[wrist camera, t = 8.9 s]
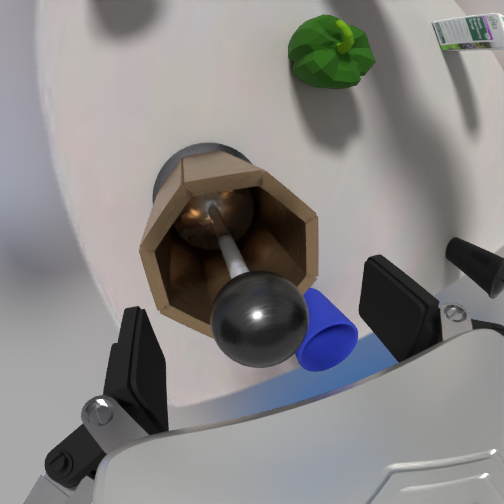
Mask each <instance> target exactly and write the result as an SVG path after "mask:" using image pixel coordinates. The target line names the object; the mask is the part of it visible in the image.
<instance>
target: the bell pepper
mask: <svg viewBox="0 0 504 504" xmlns="http://www.w3.org/2000/svg"><path fill="white" fill-rule="evenodd" d="M288 58H289V59H290V60H292V61H293V62H294V64H293V69H292V70H293V72H294V73H295V75H296V77H298V78H299V79H300V80H302V81H303V82H305V83H306V84H308V85H310V86H313V87H318V88H329V89H343V88H348V87H352V86H355V85H357V84H358V83H359V81H360V80H361V79H360V76H364V75H365V74H366V73H367V71H368V70H369V69H370V68H371V66H372V65H373V64H374V63H375V62H376V61H375V59H374V56H373V54H372V51H371V49H370V46H369V43H368V39H367V36H366V33H365V32H363V31H361V30H360V29H358V28H356V27H355V26H352V25H347V24H346V23H345V22H344V21H343V20H341V19H338V18H336V17H334V16H331V15H321V16H318V17H316V18H313V19H310V20H308V21H306V22H305V23H303V24H302V25H301V26H300V27H299V28H298V29H297V30H296V32H295V33H294V34H293V36H292V38H291V40H290V42H289V45H288Z"/></svg>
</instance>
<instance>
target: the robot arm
mask: <svg viewBox="0 0 504 504" xmlns="http://www.w3.org/2000/svg"><path fill="white" fill-rule="evenodd" d="M438 305H439V301H438V300H437V299H436V298H434V297H433V296H432V295H431V294H430V293H429V292H427V291H426V290H425V289H424V288H423V287H421V286H420V285H419V284H418V283H417V282H415V281H414V280H413V279H412V278H410V277H409V276H408V275H407V274H405V273H404V272H403V271H402V270H400V269H399V268H398V267H396V266H395V265H394V264H393V263H391V262H390V261H389V260H387V259H386V258H385V257H383V256H382V255H375V256H371V257H369V258H368V259H367V261H366V262H365V264H364V272H363V281H362V289H361V296H360V303H359V315H360V316H361V318H362V319H363V320H364V321H365V323H366V324H367V325H368V326H369V327H370V328H371V330H372V331H373V332H374V333H375V334H376V335H377V337H378V338H379V339H380V340H381V342H382V343H383V344H384V345H385V346H386V348H387V349H388V350H389V351H390V352H391V354H392V355H393V356H394V357H395V358H396V360H397V361H398V362H399V363H398V364H396V365H393V366H391V367H389V368H387V369H385V370H383V371H380V372H378V373H376V374H373V375H371V376H368V377H366V378H364V379H361V380H359V381H356V382H354V383H351V384H349V385H346V386H343V387H341V388H338V389H336V390H333V391H330V392H327V393H324V394H321V395H318V396H316V397H313V398H309V399H307V400H303V401H300V402H297V403H293V404H290V405H287V406H283V407H280V408H276V409H273V410H269V411H265V412H261V413H257V414H253V415H249V416H244V417H240V418H236V419H231V420H226V421H221V422H217V423H211V424H206V425H201V426H195V427H189V428H183V429H179V430H172V431H169V427H168V411H167V390H166V362H165V358H164V355H163V353H162V350H161V348H160V346H159V343H158V341H157V338H156V336H155V334H154V331H153V329H152V326H151V323H150V321H149V318H148V316H147V313H146V311H145V309H140V307H139V306H136V307H131V308H126V309H125V310H124V314H123V319H122V323H121V328H120V333H119V338H118V343H114V344H113V345H112V347H111V351H110V357H109V362H108V368H107V373H106V379H105V385H104V391H103V395H100V396H96V397H93V398H92V399H90V400H89V401H88V402H86V403H85V405H84V407H83V408H82V412H81V419H82V422H83V424H82V425H81V426H80V427H78V428H77V429H76V430H75V431H74V432H73V433H71V434H70V435H69V436H68V437H67V438H66V439H64V440H63V441H62V442H61V443H60V444H59V445H57V446H56V447H55V448H54V449H52V450H51V451H50V452H49V453H48V455H47V457H46V459H45V470H46V474H45V476H42V475H40V477H39V479H38V480H37V482H36V484H35V485H34V487H33V488H32V490H31V492H30V494H29V495H28V497H27V498H26V500H25V502H24V504H91V503H93V504H504V326H502V325H500V324H495V323H490V322H484V321H478V320H473V319H471V318H470V315H469V312H468V311H467V310H466V309H465V308H464V307H463V306H461V305H459V304H456V303H447V304H444V305H443V306H442V307H441V309H439V308H438ZM92 501H93V502H92Z"/></svg>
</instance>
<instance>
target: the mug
mask: <svg viewBox="0 0 504 504" xmlns="http://www.w3.org/2000/svg"><path fill="white" fill-rule="evenodd" d="M303 297H304V299H305V301H306V304H307V307H308V313H309V324H308V330H307V334H306V337H305V339H304V341H303V343H302V345H301V346H300V348H299V349H298V350H297V351H296V352H295V354H296V357H297V359H298V362H299V364H300V365H301V366H302V367H303V368H304V369H306V370H308V371H323V370H326V369H329V368H332V367H334V366H336V365H337V364H339V363H340V362H342V361H343V360H344V359H345V358H346V357H347V356H348V355H349V354H350V353H351V352H352V350H353V349H354V347H355V345H356V343H357V340H358V330H357V328H356V326H355V325H354V324H353V323H352V322H351V321H350V320H349V319H348V318H347V317H346V316H345V315H344V314H343V313H342V312H341V311H340V310H339V309H337V308H336V307H335V306H334V305H333V304H332V303H331V302H330V301H329V300H328V299H327V298H326V297H325V296H324V295H323V294H322V293H321V292H319V291H318V290H316V289H313V288H309V289H308V290H307V291H306V292H305V294H304V295H303Z"/></svg>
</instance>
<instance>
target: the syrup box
mask: <svg viewBox="0 0 504 504" xmlns="http://www.w3.org/2000/svg"><path fill="white" fill-rule="evenodd" d="M432 24H433V26H434V28H435V31H436V34H437V37H438V39H439V42H440V45H441V49H442V50H443V51H467V50H504V16H503V15H500V14H498V13H488V14H479V15H470V16H464V17H457V18H451V19H445V20H438V21H433V22H432Z"/></svg>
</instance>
